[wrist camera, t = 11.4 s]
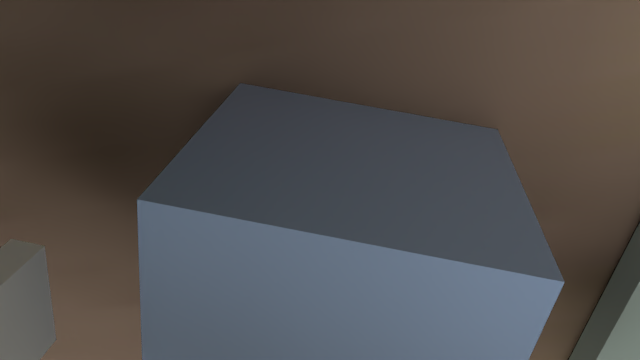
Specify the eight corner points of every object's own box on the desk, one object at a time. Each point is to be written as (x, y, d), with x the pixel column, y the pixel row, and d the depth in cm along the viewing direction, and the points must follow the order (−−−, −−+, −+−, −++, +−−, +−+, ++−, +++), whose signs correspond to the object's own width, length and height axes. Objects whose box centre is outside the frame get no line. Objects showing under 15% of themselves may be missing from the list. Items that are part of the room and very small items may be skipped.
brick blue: (241, 81, 14) (136, 199, 9) (496, 128, 14) (564, 282, 8) (227, 280, 18) (145, 460, 12) (433, 322, 17) (450, 527, 12)
